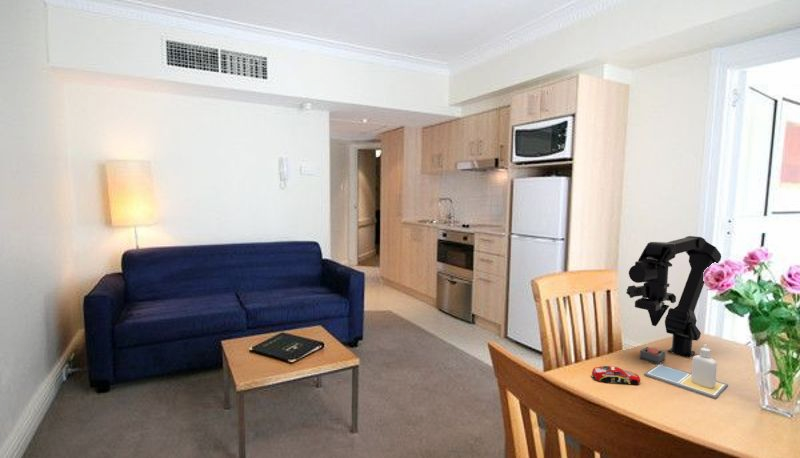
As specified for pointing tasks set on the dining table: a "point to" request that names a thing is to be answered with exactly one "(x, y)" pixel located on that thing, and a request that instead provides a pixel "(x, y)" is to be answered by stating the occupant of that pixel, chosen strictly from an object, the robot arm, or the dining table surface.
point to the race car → (615, 375)
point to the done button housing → (652, 356)
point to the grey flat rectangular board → (683, 380)
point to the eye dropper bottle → (704, 368)
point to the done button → (652, 350)
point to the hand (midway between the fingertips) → (654, 325)
